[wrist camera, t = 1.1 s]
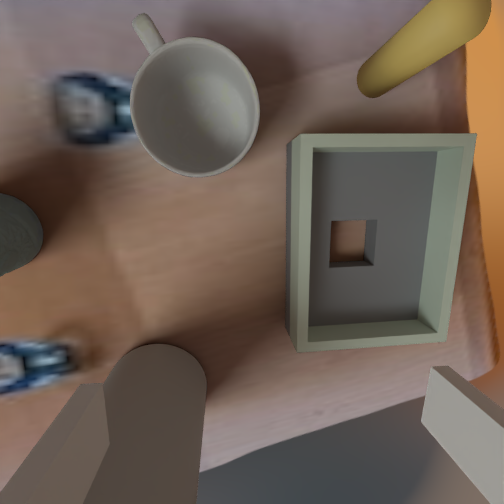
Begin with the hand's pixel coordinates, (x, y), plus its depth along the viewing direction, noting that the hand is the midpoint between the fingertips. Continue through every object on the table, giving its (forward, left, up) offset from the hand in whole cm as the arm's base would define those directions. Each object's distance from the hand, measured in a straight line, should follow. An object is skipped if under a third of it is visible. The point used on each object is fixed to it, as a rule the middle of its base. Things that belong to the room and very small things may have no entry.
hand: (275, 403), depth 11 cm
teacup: (-16, -4, -24) cm, 29 cm away
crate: (-2, +15, -24) cm, 28 cm away
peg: (-20, +16, -24) cm, 35 cm away
